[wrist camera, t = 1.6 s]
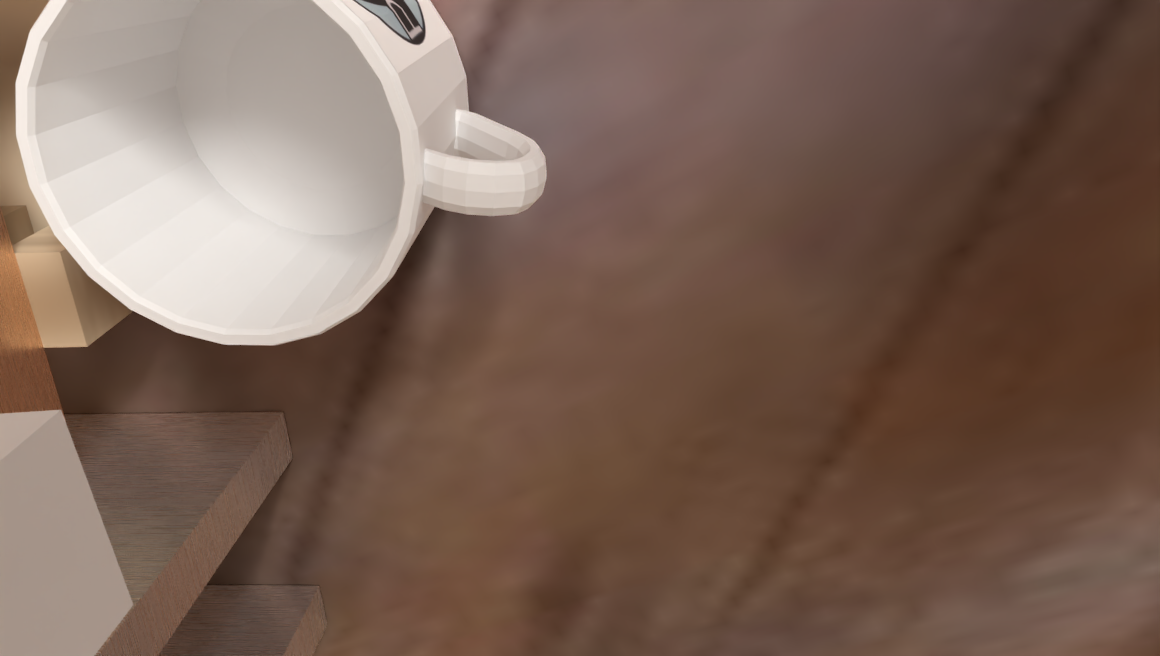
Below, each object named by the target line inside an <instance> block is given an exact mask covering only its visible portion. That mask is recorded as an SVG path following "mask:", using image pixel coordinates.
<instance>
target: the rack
mask: <svg viewBox="0 0 1160 656" xmlns="http://www.w3.org/2000/svg"><path fill="white" fill-rule="evenodd" d="M48 2H49V0H0V207H1V210H2V213H3V217H4V220H5V223H6V226H7V230H8V233H9V236H10V240H11V243H12V246H13V249H14V253H15V256H16V259H17V262H18V266H19V269H20V272H21V275H22V279H23V282H24V285H25V288H26V292H27V295H28V298H29V302H30V305H31V308H32V311H33V315H34V318H35V321H36V324H37V328H38V331H39V334H40V337H41V341H42V344H43V347H44V348H51V347H88V346H89V345H90V344H91V343H93V342H94V341H95V340H97V339H98V338H99V337H101V336H102V335H103V334H104V333H106V332H107V331H108V330H110V329H111V328H112V327H113V326H115V325H116V324H117V323H119V322H120V321H121V320H123V319H124V318H125V317H126V316H128V315H129V314H130V313H132V312H134V311H132V310H130V309H129V308H128V307H127V306H125V305H124V304H123V303H122V302H120V301H119V300H118V299H117V298H115V297H114V296H113V295H112V294H110V293H109V292H108V291H107V290H105V289H104V288H103V287H102V286H100V285H99V284H98V283H97V282H95V281H94V280H93V279H92V278H90V277H89V276H88V275H87V274H86V272H85V271H84V270H83V269H82V268H81V266H80V265H79V264H78V263H77V262H76V260H75V259H74V258H73V257H72V255H71V254H70V253H69V252H68V251H67V249H66V248H65V247H64V246H63V245H62V243H61V242H60V241H59V240H58V239H57V237H56V236H55V235H54V233H53V231H52V229H51V227H50V225H49V224H48V222H47V220H46V218H45V216H44V214H43V212H42V210H41V208H40V206H39V204H38V202H37V200H36V199H35V197H34V195H33V193H32V191H31V189H30V187H29V183H28V180H27V176H26V172H25V168H24V164H23V160H22V156H21V153H20V149H19V145H18V141H17V137H16V79H17V76H18V72H19V68H20V65H21V61H22V58H23V54H24V50H25V47H26V43H27V40H28V36H29V33H30V30H31V28H32V26H33V25H34V23H35V22H36V20H37V19H38V17H39V16H40V14H41V13H42V11H43V10H44V8H45V7H46V5H47V3H48Z"/></svg>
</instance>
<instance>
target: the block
mask: <svg viewBox="0 0 1160 656" xmlns="http://www.w3.org/2000/svg"><path fill="white" fill-rule="evenodd" d="M48 410H61V411H62V414H63V416H64V412H63V409H62V406H61V403H60V399H59V396H58V393H57V390H56V386H55V383H54V380H53V377H52V373H51V370H50V367H49V364H48V360H47V357H46V354H45V350H44V347H43V344H42V341H41V337H40V334H39V331H38V328H37V324H36V321H35V318H34V315H33V311H32V308H31V305H30V302H29V298H28V295H27V292H26V288H25V285H24V282H23V279H22V275H21V272H20V269H19V266H18V262H17V259H16V256H15V253H14V249H13V246H12V243H11V240H10V236H9V233H8V230H7V226H6V223H5V220H4V217H3V213H2V210H1V207H0V414H3V413H18V412H33V411H48ZM64 419H65V416H64ZM65 421H66V419H65Z"/></svg>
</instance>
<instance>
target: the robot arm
mask: <svg viewBox="0 0 1160 656" xmlns="http://www.w3.org/2000/svg"><path fill="white" fill-rule="evenodd" d="M132 606H133V602H132V600H131V597H130V594H129V591H128V589H127V586H126V583H125V581H124V578H123V575H122V573H121V570H120V567H119V565H118V562H117V559H116V556H115V554H114V551H113V548H112V546H111V543H110V540H109V538H108V535H107V532H106V529H105V527H104V524H103V521H102V519H101V516H100V513H99V511H98V508H97V505H96V503H95V500H94V497H93V494H92V492H91V489H90V486H89V484H88V481H87V478H86V476H85V473H84V470H83V467H82V465H81V462H80V459H79V457H78V454H77V451H76V449H75V446H74V443H73V440H72V438H71V435H70V432H69V430H68V427H67V424H66V422H65V419H64V416H63V414H62V411H61V410H48V411H33V412H18V413H3V414H0V656H95V654H96V653H97V652H98V650H99V649H100V648H101V646H102V645H103V644H104V643H105V641H106V640H107V639H108V637H109V636H110V635H111V633H112V632H113V631H114V629H115V628H116V627H117V626H118V624H119V623H120V622H121V620H122V619H123V618H124V616H125V615H126V614H127V613H128V611H129V610H130V609H131V607H132Z"/></svg>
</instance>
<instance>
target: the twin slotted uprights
mask: <svg viewBox="0 0 1160 656" xmlns="http://www.w3.org/2000/svg"><path fill="white" fill-rule="evenodd" d="M64 416H65V419H66V421H65V422H66V424H67V427H68V430H69V432H70V435H71V438H72V440H73V443H74V446H75V449H76V451H77V454H78V457H79V459H80V462H81V465H82V467H83V470H84V473H85V476H86V478H87V481H88V484H89V486H90V489H91V492H92V494H93V497H94V500H95V503H96V505H97V508H98V511H99V513H100V516H101V519H102V521H103V524H104V527H105V529H106V532H107V535H108V538H109V540H110V543H111V546H112V548H113V551H114V554H115V556H116V559H117V562H118V565H119V567H120V570H121V573H122V575H123V578H124V581H125V583H126V586H127V589H128V591H129V594H130V597H131V600H132V602H133V606H132V607H131V609H130V610H129V611H128V613H127V614H126V615H125V616H124V618H123V619H122V620H121V622H120V623H119V624H118V626H117V627H116V628H115V629H114V631H113V632H112V633H111V635H110V636H109V637H108V639H107V640H106V641H105V643H104V644H103V645H102V646H101V648H100V649H99V650H98V652H97V653H96V654H95V656H313V654H314V652H315V650H316V648H317V646H318V644H319V642H320V640H321V637H322V635H323V633H324V631H325V629H326V627H327V620H326V615H325V611H324V606H323V601H322V596H321V591H320V586H292V585H206V584H207V583H208V581H209V580H210V579H211V577H212V576H213V574H214V573H215V571H216V570H217V568H218V567H219V565H220V564H221V562H222V561H223V560H224V558H225V557H226V555H227V554H228V552H229V551H230V549H231V548H232V546H233V545H234V543H235V542H236V540H237V539H238V538H239V536H240V535H241V533H242V532H243V530H244V529H245V527H246V526H247V524H248V523H249V521H250V520H251V519H252V517H253V516H254V514H255V513H256V511H257V510H258V508H259V507H260V505H261V504H262V502H263V501H264V499H265V498H266V497H267V495H268V494H269V492H270V491H271V489H272V488H273V486H274V485H275V483H276V482H277V480H278V479H279V478H280V476H281V475H282V473H283V472H284V470H285V469H286V467H287V466H288V464H289V463H290V461H291V460H292V458H293V456H292V451H291V446H290V441H289V437H288V432H287V427H286V422H285V417H284V412H216V413H136V414H64Z"/></svg>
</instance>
